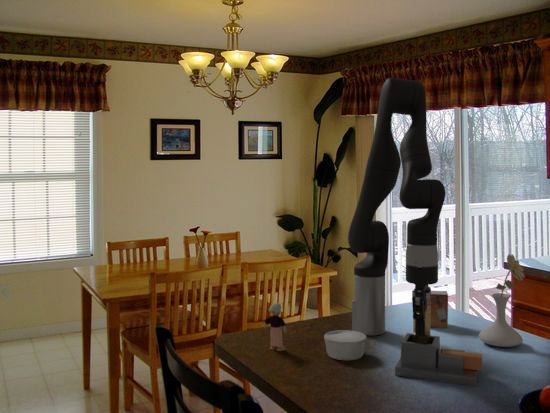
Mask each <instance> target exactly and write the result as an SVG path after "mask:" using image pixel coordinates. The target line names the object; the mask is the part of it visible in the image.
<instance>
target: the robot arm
mask: <svg viewBox="0 0 550 413" xmlns="http://www.w3.org/2000/svg"><path fill="white" fill-rule="evenodd" d="M426 99H427V97H426V89H425V86H424V85H423V83H422V82H420V81H418V80H413V79H412V80H411V79H404V78H397V77H388V78H386V80H385V81H384V83H383V85H382V87H381V91H380V96H379V102H378V103H379V104H378V107H377V108H378V109H377V114H376V122H375V127H374V128H375V129H374V132H373V133H374V134H373V139H372V142H371V146H370V151H369V155H368V159H367V162H366V166H365V170H364V171H365V172H364V176H363V182H362V186H361V189H360V190H361V191H360V194H359V198H358V202H357V204H356V207H355V211H354V214H353V217H352V220H351V223H350V225H349V230H348V236H347V238H348V239H347V240H348V242H347V243H348V246H349V249H351V251H352V252H354V253H357V254H366V256H365V257H364V258H363V259H362V260H361V261H358V263H356V264H355V265H354V269H353V299H352V300H351V302H352V303H351V321H352V322H351V331H357V332H361V333H363V334H365V335H366V336H379V335H383V334H385V332H386V269H387V267H388V263H389V247H390V233H389V229H388V227H387V225H386V223H384V222H383V221H380V220H374V217H375V216H376V215H375V214H376V212H377V211H378V209H379V207H380V206H381V205H382V203H383V202H384V201H385V200H386V199H387V198H388V196H389V195H390V194H391V192H392V191H393V189H395V186H396V184H397V182H398V178H399V173H400V170H401V168H402V178H401V185H400V189H399V201H400V203H401V205H402V206H403V207H404V208H405V209H406V210H407V209H408V210H427V211H426V213H425V215H423V216H421V217H418V218H413V219H410V220H409V221H408V222H407V224H406V249H405V281H406V282H407V283H409V284H413V285H415V286H414V288H413V290H412V293H411V303H412V319H414V320H415V334H416V335H417V336H424V335H425V319H426V311H427V310H428V304H429V305H430V296H431V291H432V288H431V286H429V285H434V284H437V283H438V282H439V250H438V226H439V222H440V218H441V217H440V215H441V212H442V209H443V206H444V203H445V199H446V187H445V186H444V184H443V182H442V181H441V180H439V179H433V178H432V179H424V178H425V177H428V176H429V175H430V174H431V172H432V169H433V166H432V165H433V164H432V159H431V154H430V149H429V144H428V137H427V136H428V134H427V100H426ZM394 114H397V115H402V116H403V115H404V116H409V117H410V120H411V124H410V125H409V127H408V128H407V131H406V133H405V134H404V135H403V138H402V139H401V141H400V145H399V149H398V147H397V144H396V141H395V139H394V136H393V130H392V119H393V115H394ZM401 166H402V167H401ZM424 306H425V307H424ZM417 311H419V312H421V314H422V315H421V314H417Z"/></svg>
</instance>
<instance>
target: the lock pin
mask: <svg viewBox="0 0 550 413" xmlns="http://www.w3.org/2000/svg"><path fill="white" fill-rule="evenodd" d="M440 354H443V355H452V356H461V357H463V369H471V370H478V372H479V371H481V372H482V370H483V353H476V352H467V351H465V352H459V351H450V350H442V353H441V352H440Z"/></svg>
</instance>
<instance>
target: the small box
mask: <svg viewBox="0 0 550 413" xmlns="http://www.w3.org/2000/svg"><path fill="white" fill-rule="evenodd" d="M430 305H431V319H430V328H440V329H448V323H449V322H448V321H449V319H448V318H449V317H448V316H449V294H448V291H447V290H431V296H430Z"/></svg>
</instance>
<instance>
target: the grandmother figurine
mask: <svg viewBox="0 0 550 413" xmlns="http://www.w3.org/2000/svg"><path fill="white" fill-rule="evenodd" d="M281 310H282V305H281V303H279V302H274V303H273V304H271V305H270V307H269V309H268V311H269V313H271V315H269V316H268V317H266V319H265V320H264V324H263V328H264V329H265V328H267V327H268V325H270V331H269V332H270V333H269V334H270V335H269V336H270V337H269V340H270V347H269V350H272V351H274V350H276V351H277V352H282V351H286V350H287V349H286V347H285V346H284V344H283V343H284V342H283V333H284V334H286V333H288V330H287V325H286V322H285V320H284V319H283V317H281V316H280V315H281Z"/></svg>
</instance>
